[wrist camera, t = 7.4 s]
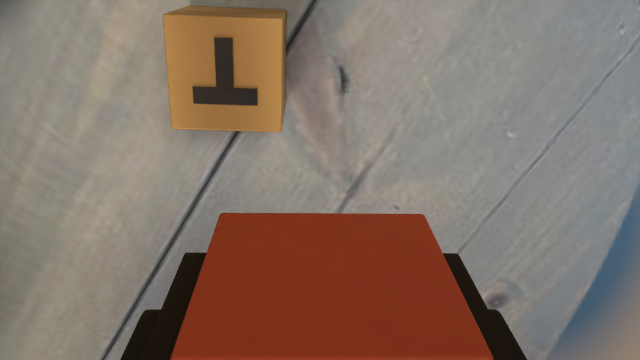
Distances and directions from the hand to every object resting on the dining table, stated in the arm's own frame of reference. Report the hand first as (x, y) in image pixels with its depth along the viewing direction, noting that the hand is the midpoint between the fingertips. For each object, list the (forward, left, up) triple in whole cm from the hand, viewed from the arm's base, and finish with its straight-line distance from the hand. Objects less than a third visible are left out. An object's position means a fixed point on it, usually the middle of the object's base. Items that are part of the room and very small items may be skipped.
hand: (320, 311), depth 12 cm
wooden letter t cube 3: (+4, -3, -15) cm, 16 cm away
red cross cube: (0, 0, -1) cm, 1 cm away
